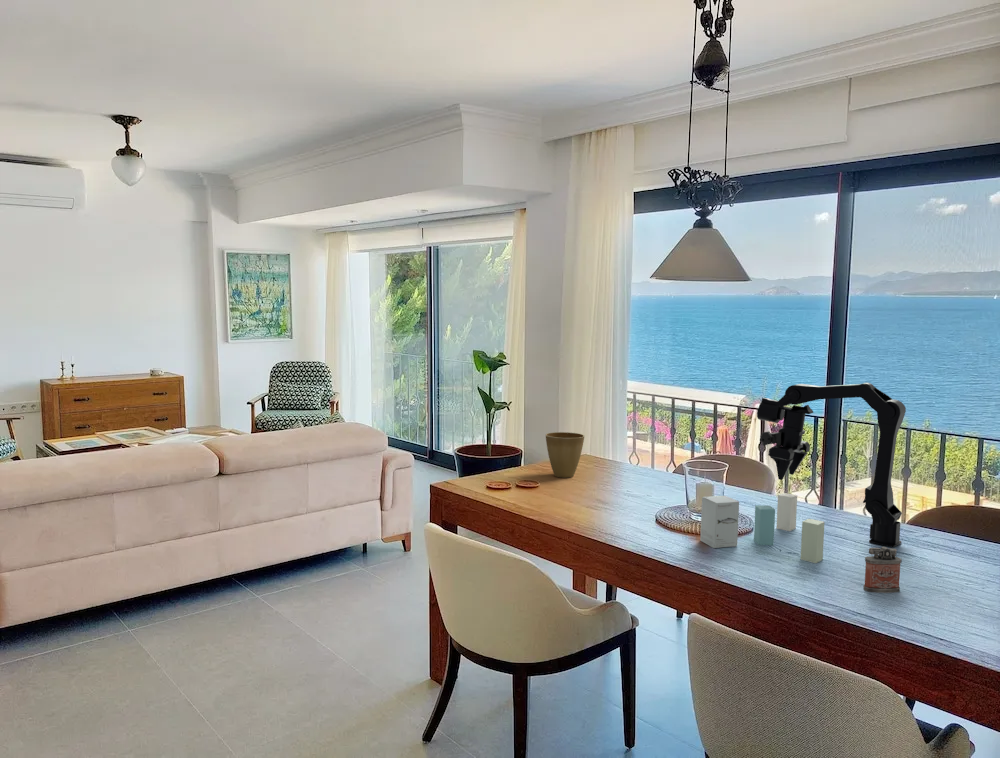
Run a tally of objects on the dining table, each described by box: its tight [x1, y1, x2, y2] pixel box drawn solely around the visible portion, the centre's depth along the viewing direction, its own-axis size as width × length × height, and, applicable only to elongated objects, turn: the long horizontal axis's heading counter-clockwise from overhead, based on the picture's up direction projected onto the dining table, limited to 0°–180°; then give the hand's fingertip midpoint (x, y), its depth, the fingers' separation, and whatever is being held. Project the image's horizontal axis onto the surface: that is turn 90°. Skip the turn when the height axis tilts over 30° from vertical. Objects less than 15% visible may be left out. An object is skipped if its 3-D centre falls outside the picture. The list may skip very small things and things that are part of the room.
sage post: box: [800, 518, 826, 564], centre depth 190 cm, size 4×4×10 cm
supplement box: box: [699, 495, 740, 549], centre depth 202 cm, size 7×7×13 cm
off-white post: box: [776, 492, 798, 532], centre depth 217 cm, size 4×4×10 cm
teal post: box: [753, 505, 776, 546], centre depth 203 cm, size 4×4×10 cm
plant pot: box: [545, 431, 585, 479], centre depth 284 cm, size 15×15×16 cm
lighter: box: [863, 546, 902, 594], centre depth 169 cm, size 8×3×10 cm, turn 92°
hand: (785, 477), depth 221 cm, fingers open, 9 cm apart
